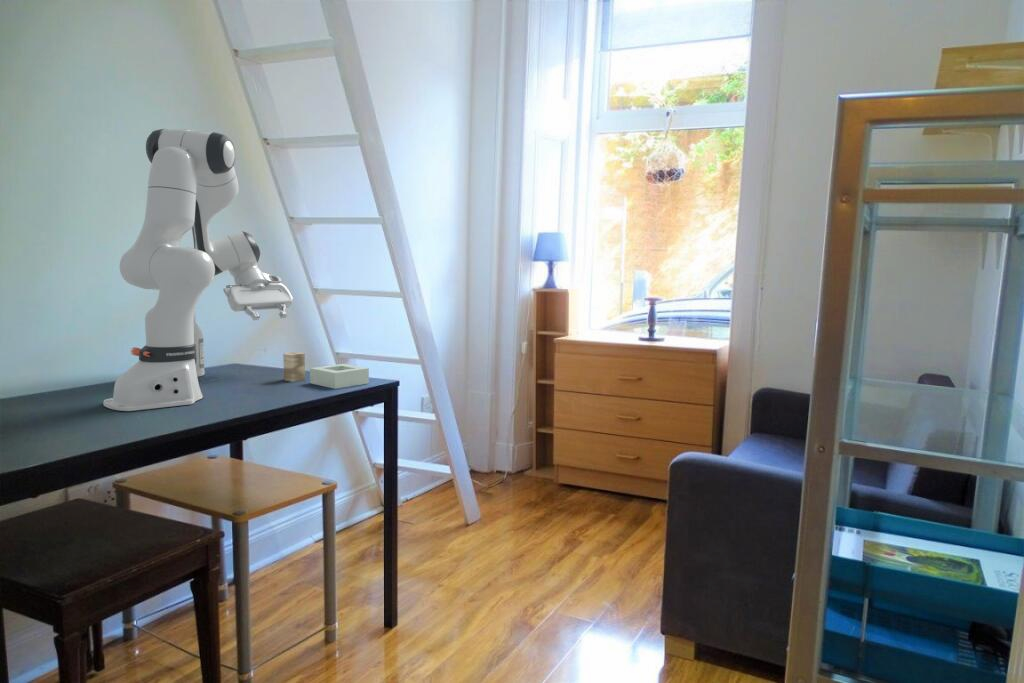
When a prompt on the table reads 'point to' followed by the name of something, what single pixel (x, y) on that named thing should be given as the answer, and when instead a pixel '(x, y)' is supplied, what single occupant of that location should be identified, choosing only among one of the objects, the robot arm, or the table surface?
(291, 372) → the birch peg
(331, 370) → the socket block
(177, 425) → the table surface
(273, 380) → the table surface
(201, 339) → the bath foam
